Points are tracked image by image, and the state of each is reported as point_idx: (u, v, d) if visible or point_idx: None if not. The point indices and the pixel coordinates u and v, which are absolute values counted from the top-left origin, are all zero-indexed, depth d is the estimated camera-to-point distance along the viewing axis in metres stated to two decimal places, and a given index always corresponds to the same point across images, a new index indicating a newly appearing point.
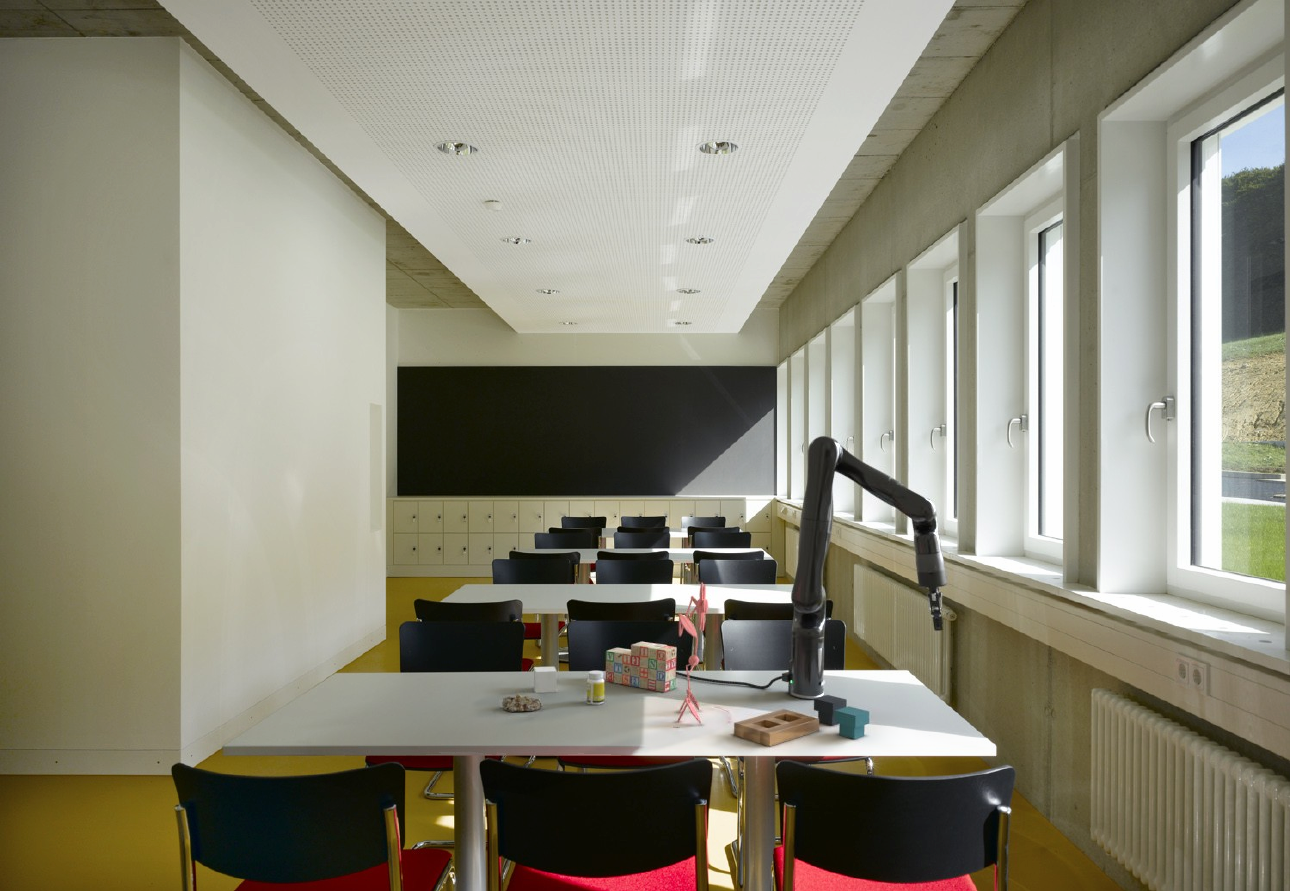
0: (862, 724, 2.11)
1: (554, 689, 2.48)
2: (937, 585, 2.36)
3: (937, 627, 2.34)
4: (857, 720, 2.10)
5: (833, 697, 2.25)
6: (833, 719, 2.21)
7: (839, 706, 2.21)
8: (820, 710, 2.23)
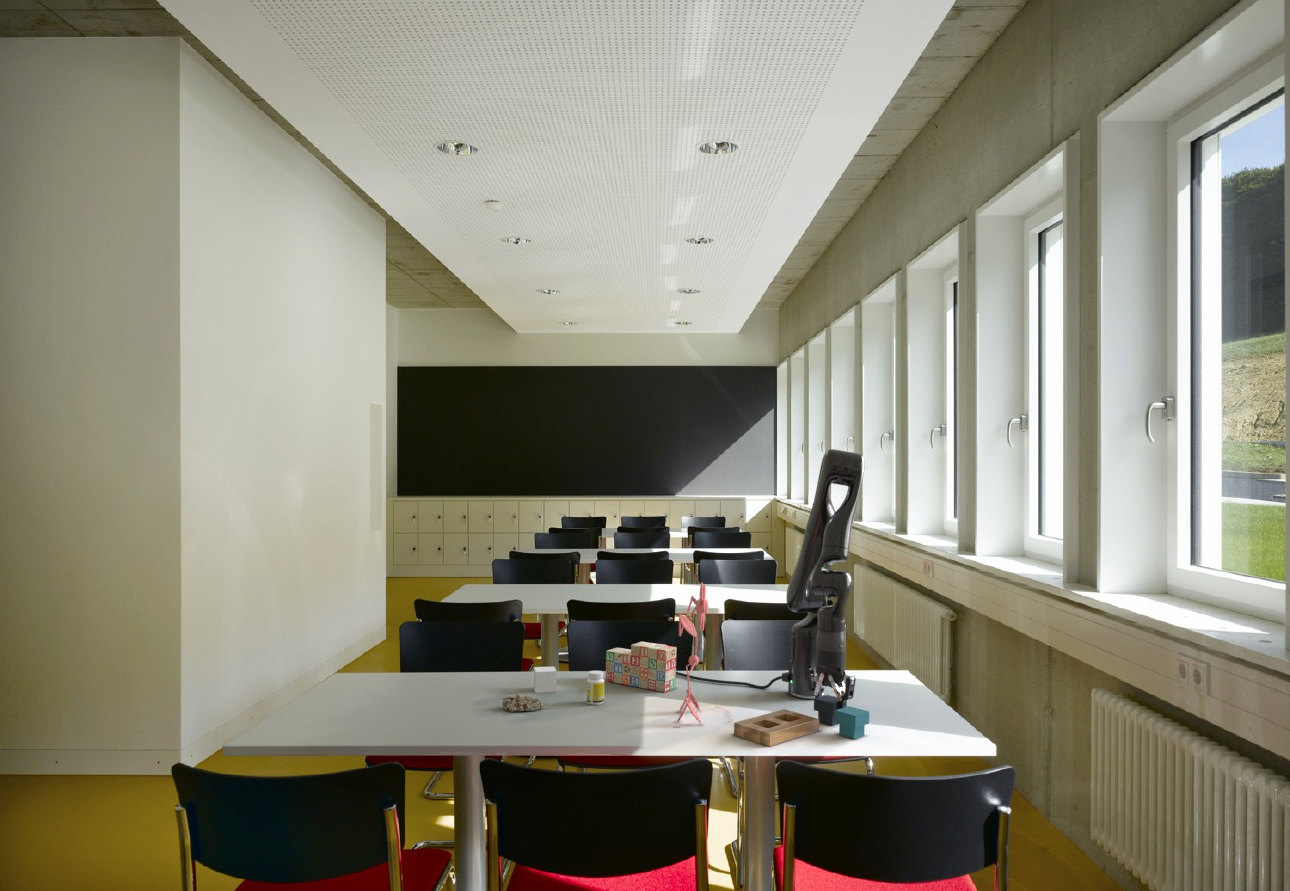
0: (862, 724, 2.11)
1: (554, 689, 2.48)
2: None
3: None
4: (857, 720, 2.10)
5: (833, 697, 2.25)
6: (833, 719, 2.21)
7: None
8: (820, 710, 2.23)
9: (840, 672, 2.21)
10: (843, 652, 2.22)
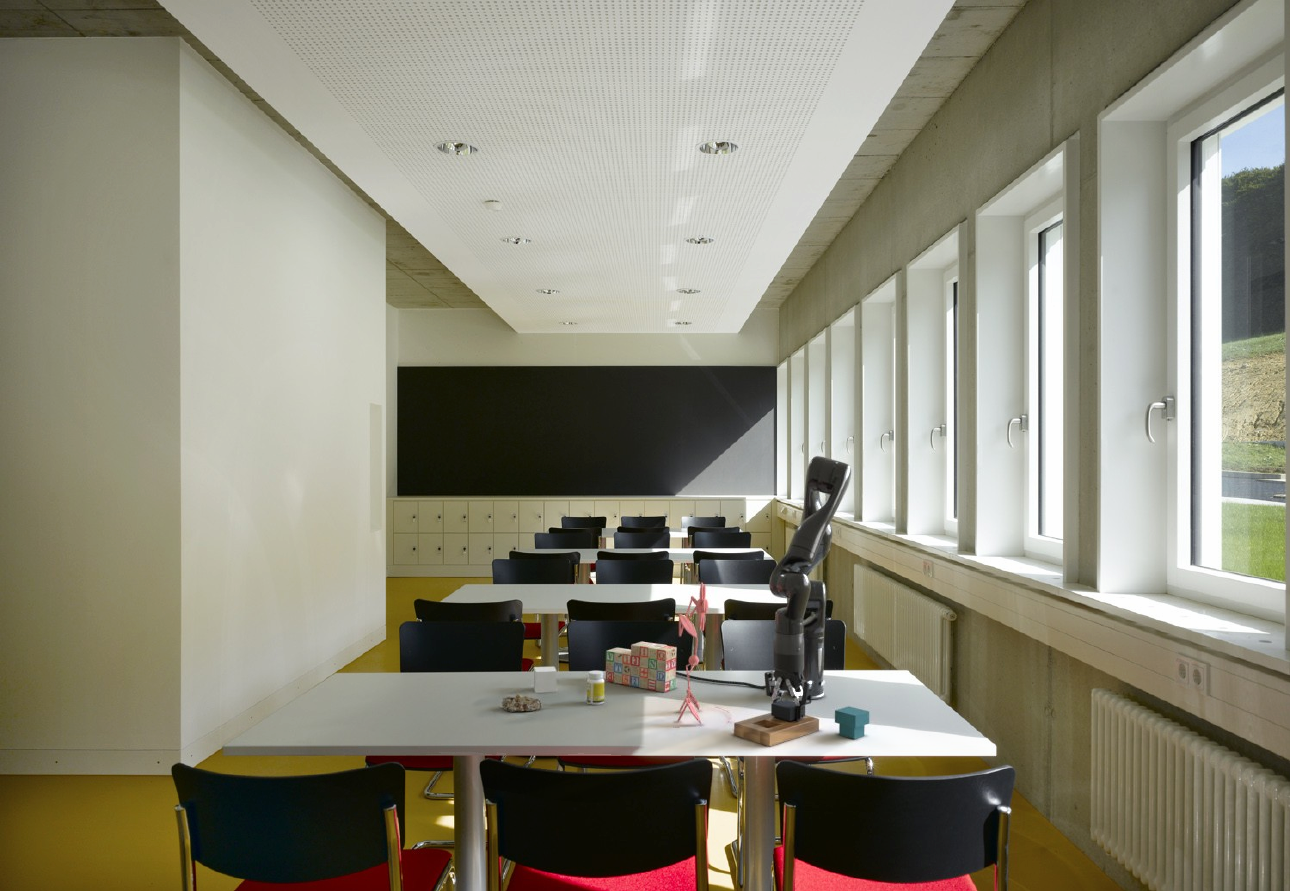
0: (862, 724, 2.11)
1: (554, 689, 2.48)
2: None
3: None
4: (857, 720, 2.10)
5: (791, 702, 2.18)
6: None
7: None
8: (777, 715, 2.15)
9: (798, 676, 2.14)
10: (801, 655, 2.14)
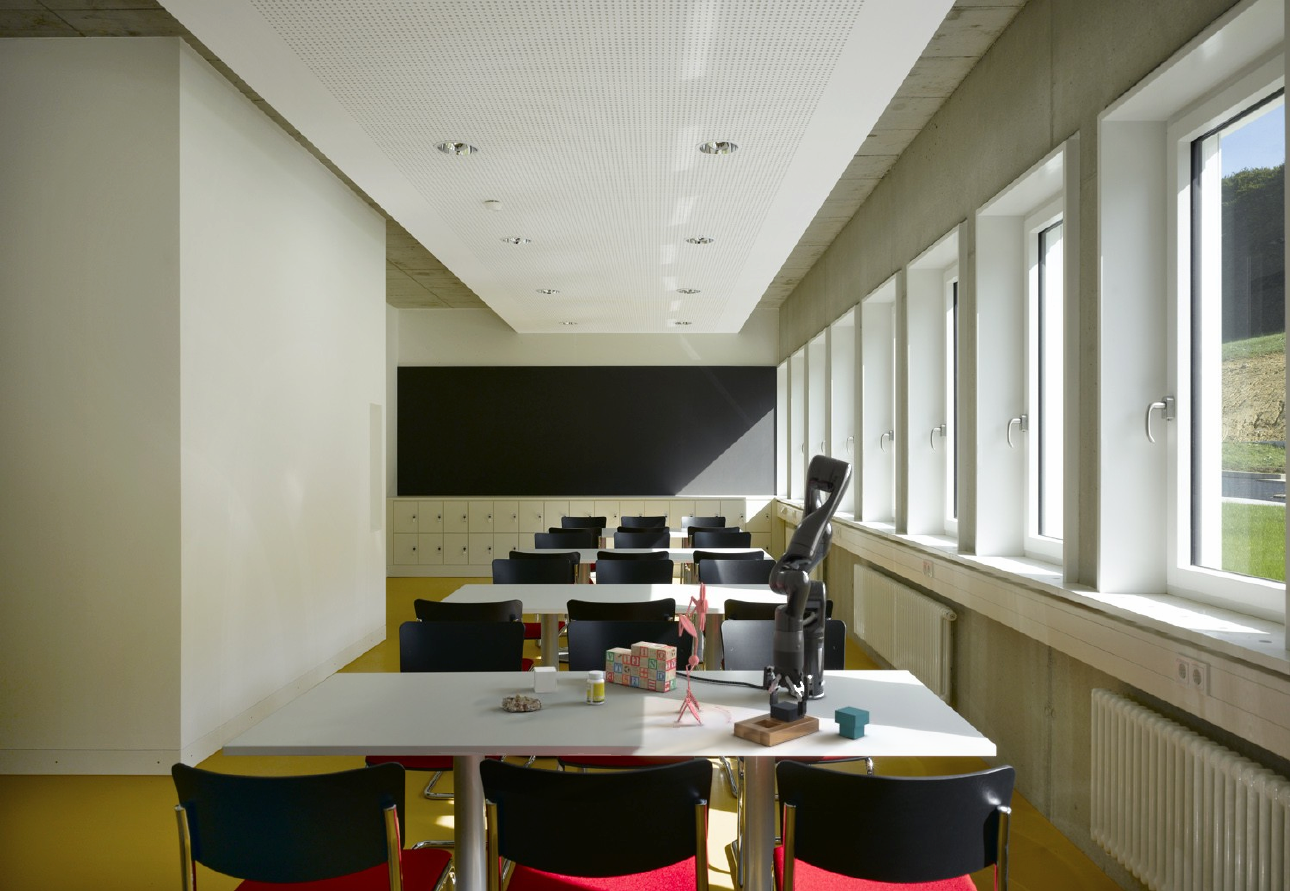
0: (862, 724, 2.11)
1: (554, 689, 2.48)
2: None
3: None
4: (857, 720, 2.10)
5: (790, 704, 2.18)
6: None
7: (795, 713, 2.14)
8: (776, 717, 2.15)
9: (797, 673, 2.14)
10: (800, 652, 2.14)
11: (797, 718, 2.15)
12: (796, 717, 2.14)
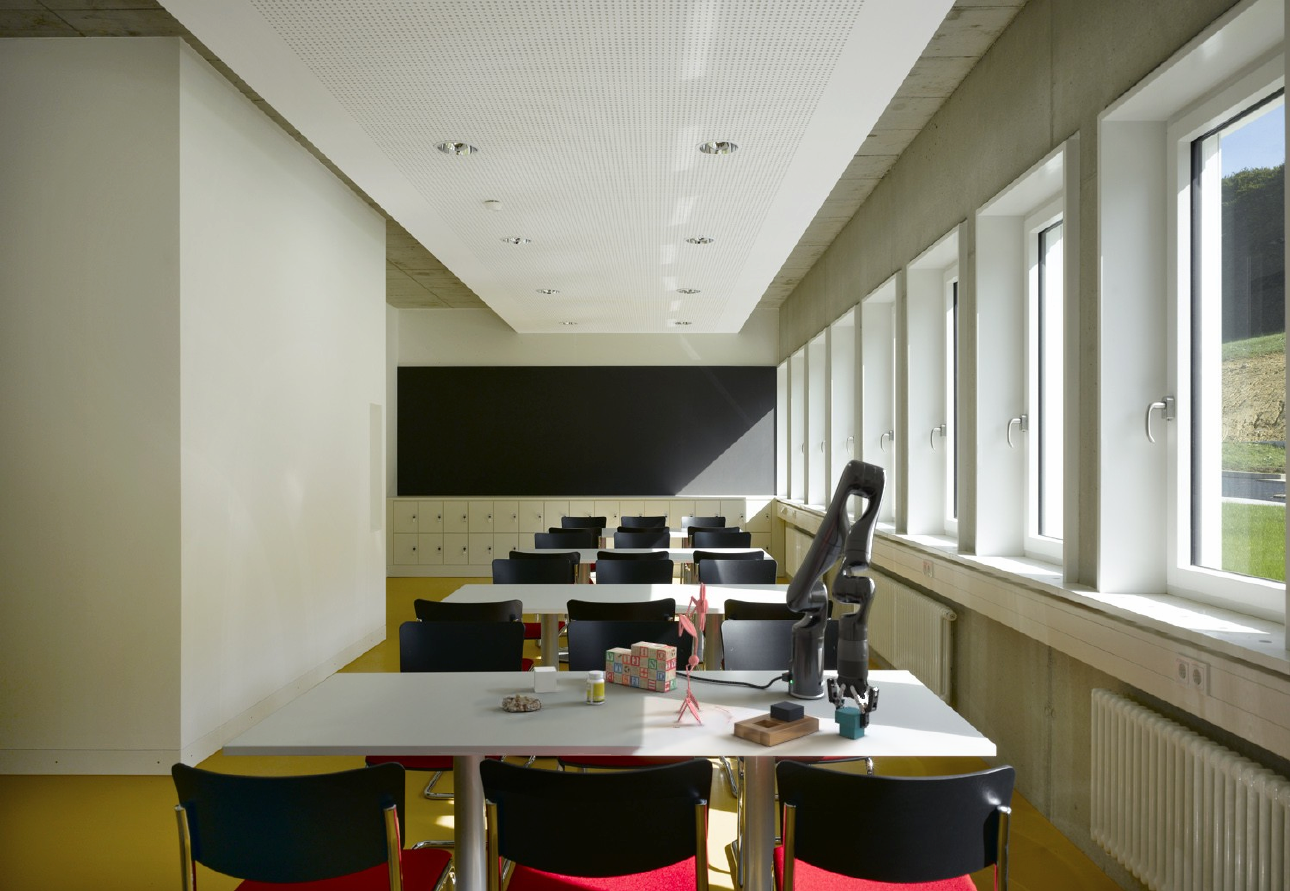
0: None
1: (554, 689, 2.48)
2: None
3: None
4: (857, 720, 2.10)
5: (790, 704, 2.18)
6: None
7: (795, 713, 2.14)
8: (776, 717, 2.15)
9: (863, 683, 2.10)
10: (866, 662, 2.11)
11: (797, 718, 2.15)
12: (796, 717, 2.14)
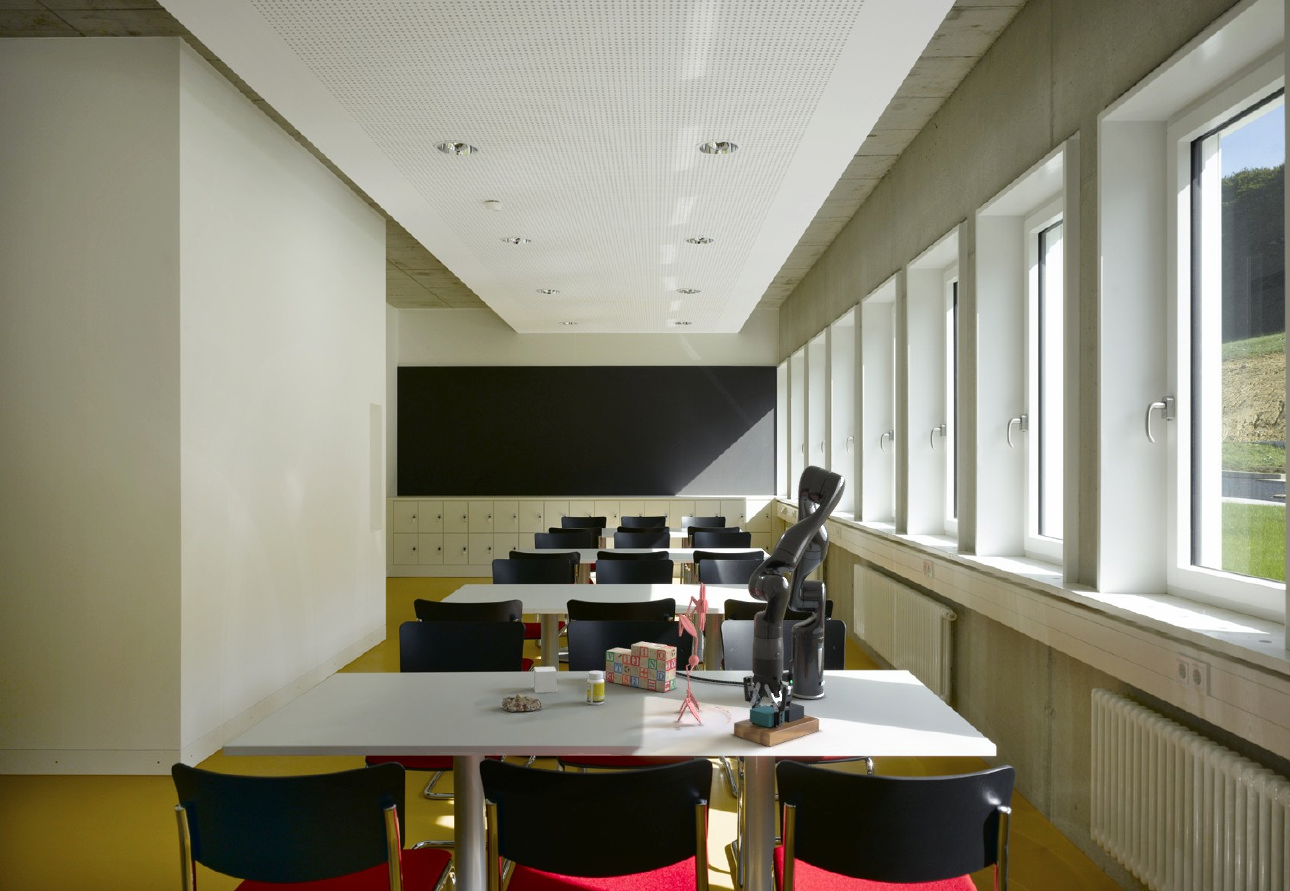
0: None
1: (554, 689, 2.48)
2: None
3: None
4: (771, 719, 2.07)
5: None
6: None
7: (796, 713, 2.14)
8: None
9: (776, 681, 2.08)
10: (780, 660, 2.09)
11: (797, 718, 2.15)
12: (796, 717, 2.14)
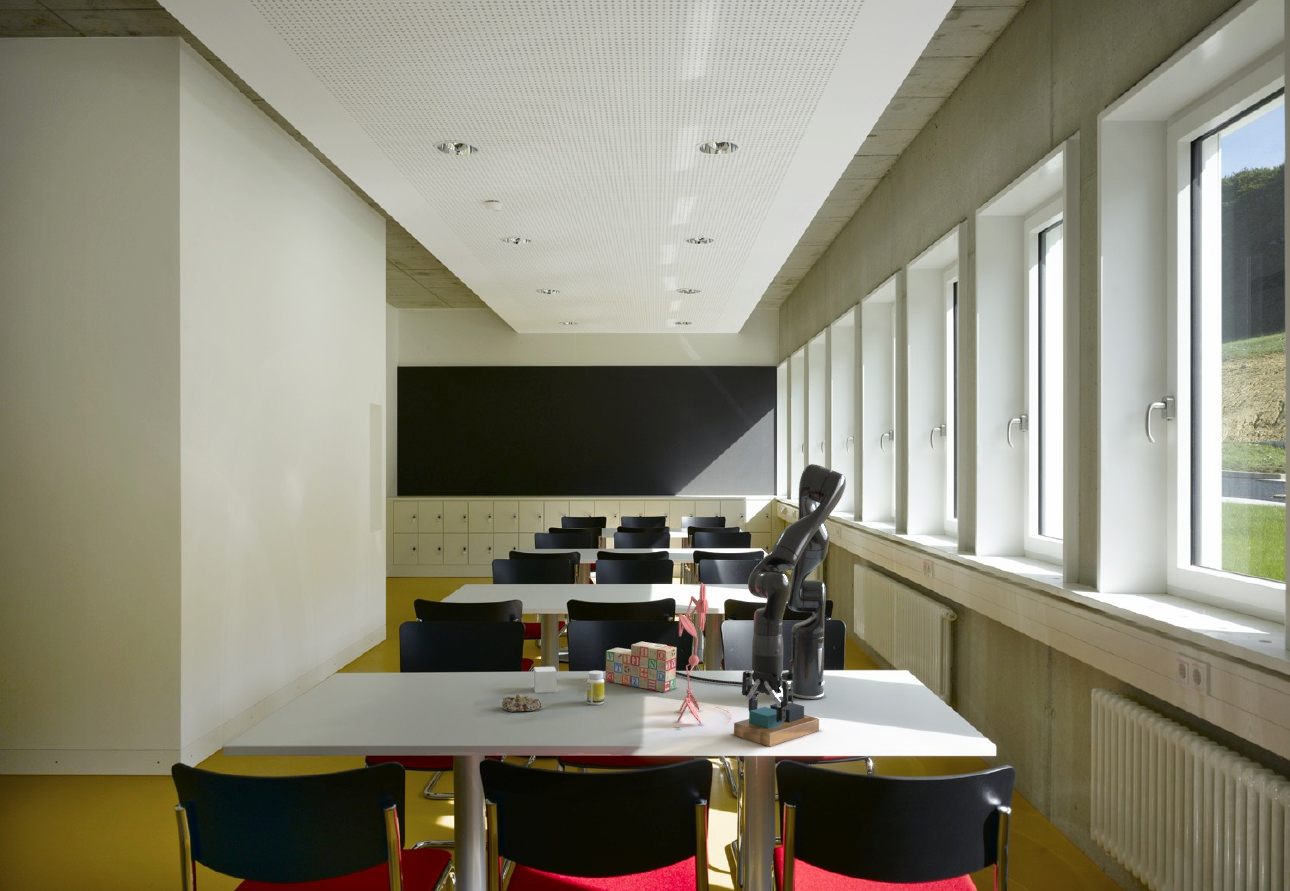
0: (776, 725, 2.09)
1: (554, 689, 2.48)
2: None
3: None
4: (770, 721, 2.08)
5: None
6: None
7: (796, 713, 2.14)
8: None
9: (776, 678, 2.08)
10: (780, 657, 2.09)
11: (797, 718, 2.15)
12: (796, 717, 2.14)
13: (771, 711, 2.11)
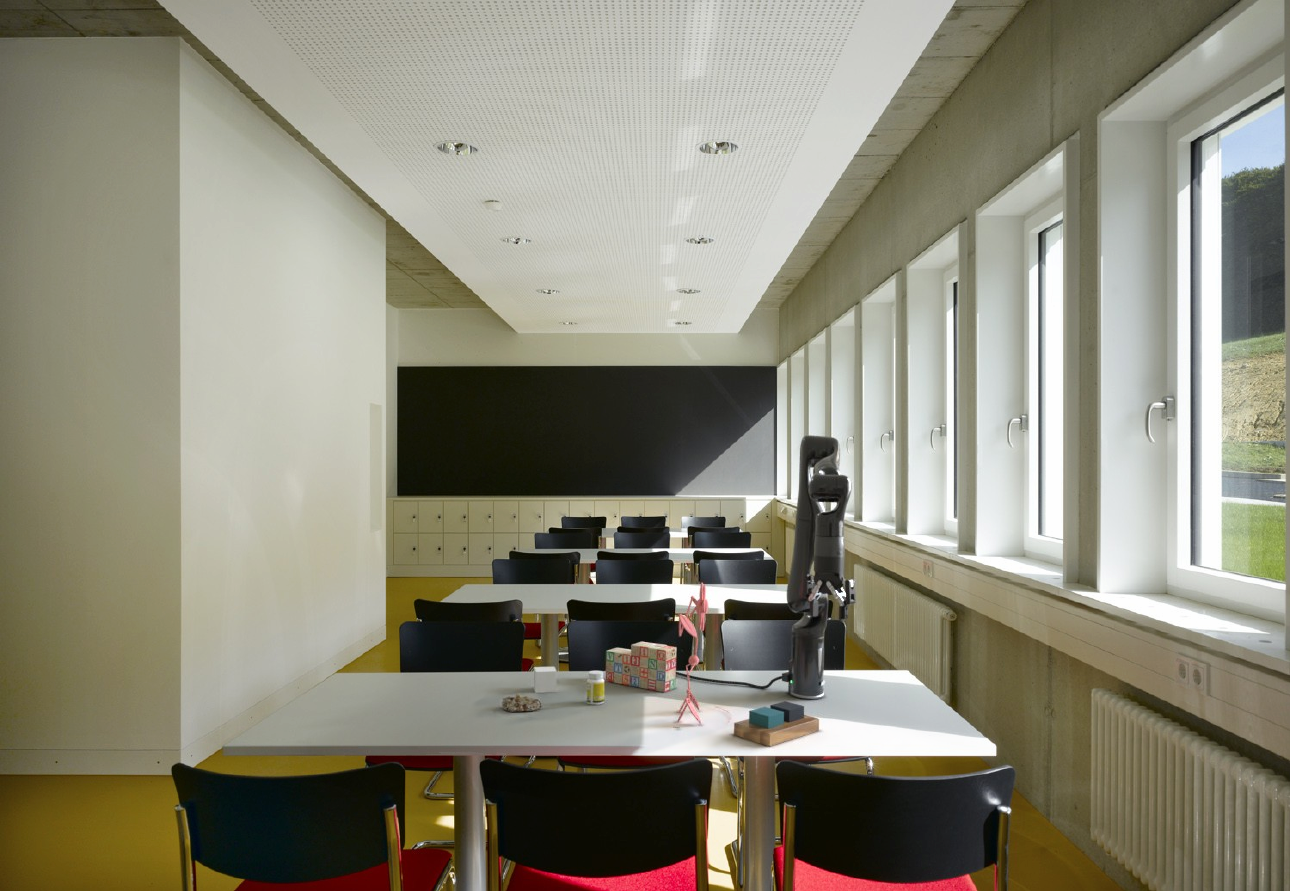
0: (776, 725, 2.09)
1: (554, 689, 2.48)
2: None
3: None
4: (770, 721, 2.08)
5: (790, 704, 2.18)
6: None
7: (795, 713, 2.14)
8: None
9: (838, 578, 2.14)
10: (842, 558, 2.15)
11: (797, 718, 2.15)
12: (796, 717, 2.14)
13: (771, 711, 2.11)
